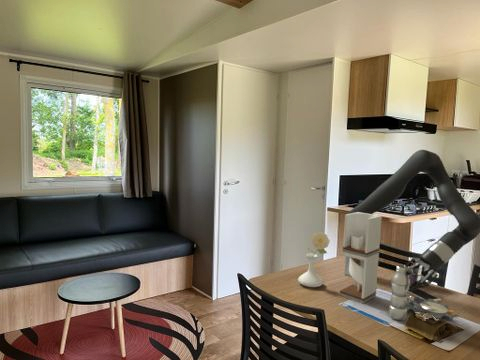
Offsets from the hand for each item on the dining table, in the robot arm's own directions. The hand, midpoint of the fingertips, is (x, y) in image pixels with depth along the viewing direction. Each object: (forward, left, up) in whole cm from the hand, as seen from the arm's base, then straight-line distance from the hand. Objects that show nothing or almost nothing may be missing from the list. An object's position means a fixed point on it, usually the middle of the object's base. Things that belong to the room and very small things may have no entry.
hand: (404, 285), depth 130 cm
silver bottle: (-1, -1, -13) cm, 13 cm away
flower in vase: (-36, +17, -13) cm, 42 cm away
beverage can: (+9, +41, -13) cm, 44 cm away
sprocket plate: (+10, +12, -13) cm, 20 cm away
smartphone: (+10, +29, -13) cm, 34 cm away
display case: (-16, +14, -13) cm, 25 cm away
